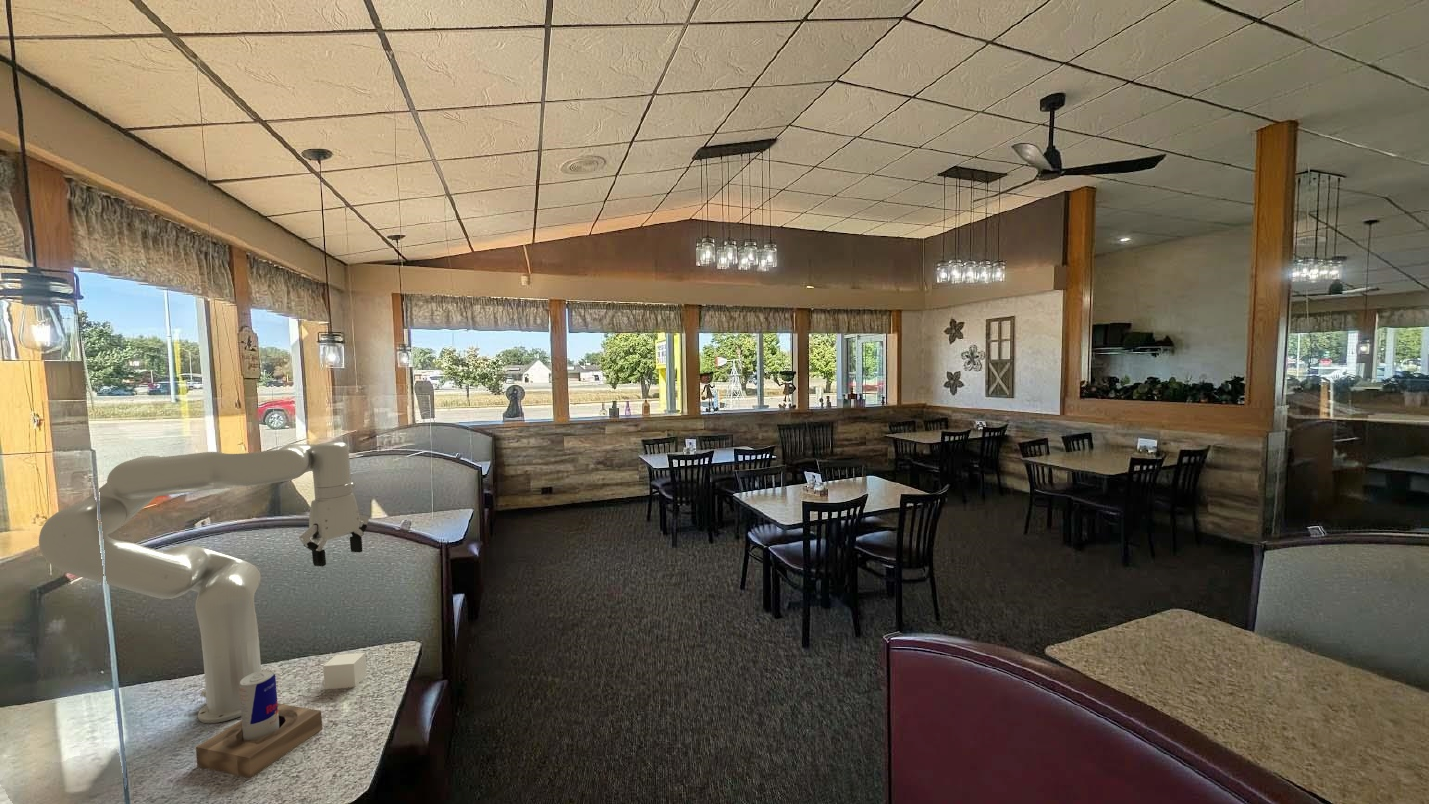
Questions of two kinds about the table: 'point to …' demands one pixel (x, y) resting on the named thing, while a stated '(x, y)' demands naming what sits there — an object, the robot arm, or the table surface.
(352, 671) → the white cube
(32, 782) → the table surface
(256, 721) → the beverage can
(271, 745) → the holder
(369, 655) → the table surface
